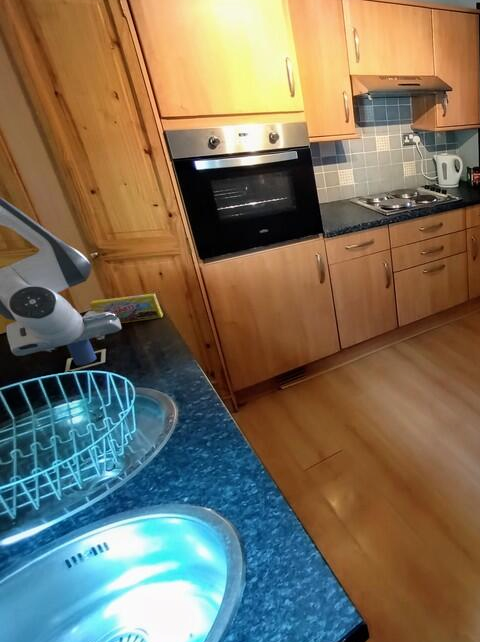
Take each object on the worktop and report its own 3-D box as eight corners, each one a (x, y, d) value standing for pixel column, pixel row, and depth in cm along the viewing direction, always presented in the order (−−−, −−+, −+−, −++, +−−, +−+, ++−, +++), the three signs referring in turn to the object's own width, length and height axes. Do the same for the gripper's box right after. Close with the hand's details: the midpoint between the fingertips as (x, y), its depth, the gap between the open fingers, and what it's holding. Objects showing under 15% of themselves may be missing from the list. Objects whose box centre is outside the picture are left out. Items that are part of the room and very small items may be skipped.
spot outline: (65, 373, 117) (64, 372, 117) (67, 359, 123) (67, 358, 123) (104, 362, 122) (104, 361, 122) (105, 349, 127) (105, 348, 127)
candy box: (99, 327, 138) (88, 303, 135) (101, 324, 140) (92, 300, 137) (161, 318, 144) (153, 295, 140) (163, 315, 145) (155, 292, 142)
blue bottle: (74, 367, 119) (57, 330, 115) (76, 360, 123) (58, 323, 118) (96, 361, 122) (80, 324, 117) (97, 354, 125) (81, 318, 120)
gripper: (111, 301, 115) (124, 319, 126) (-4, 327, 104) (21, 344, 114) (117, 323, 114) (129, 340, 125) (1, 352, 102) (26, 367, 113)
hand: (77, 342), depth 120 cm, fingers open, 8 cm apart
